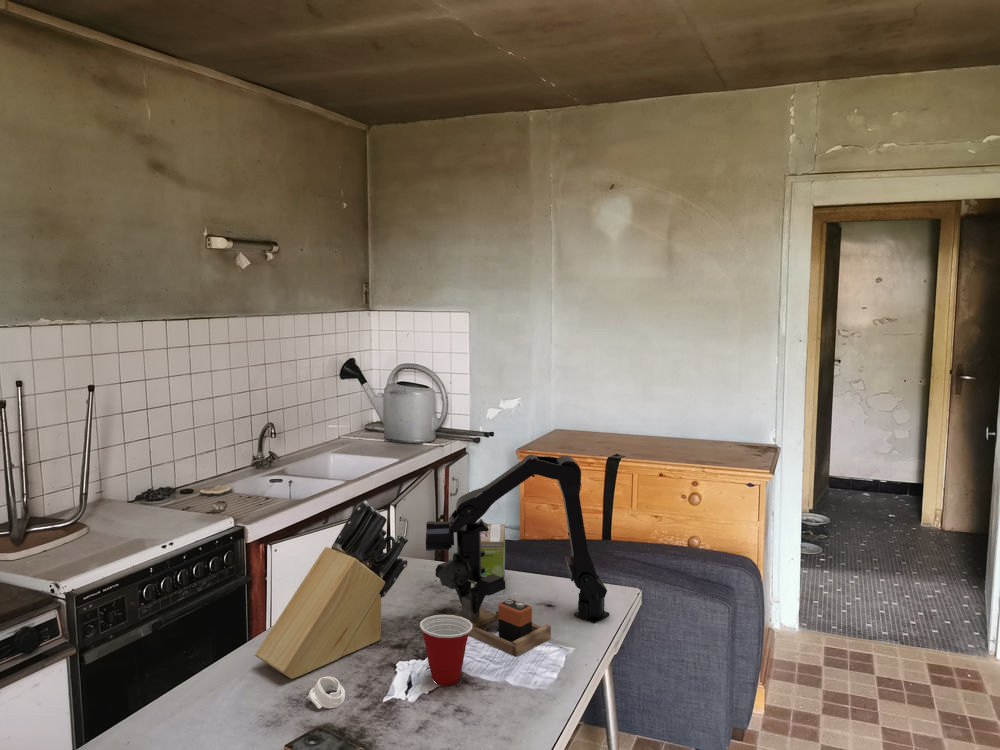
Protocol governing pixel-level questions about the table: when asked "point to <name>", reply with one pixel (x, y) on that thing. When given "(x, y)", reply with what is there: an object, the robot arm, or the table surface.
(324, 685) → the white plastic ring
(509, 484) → the robot arm
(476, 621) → the wooden tray frame
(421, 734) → the table surface
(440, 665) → the plastic cup
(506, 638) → the battery
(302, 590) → the knife block
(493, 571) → the tea box
